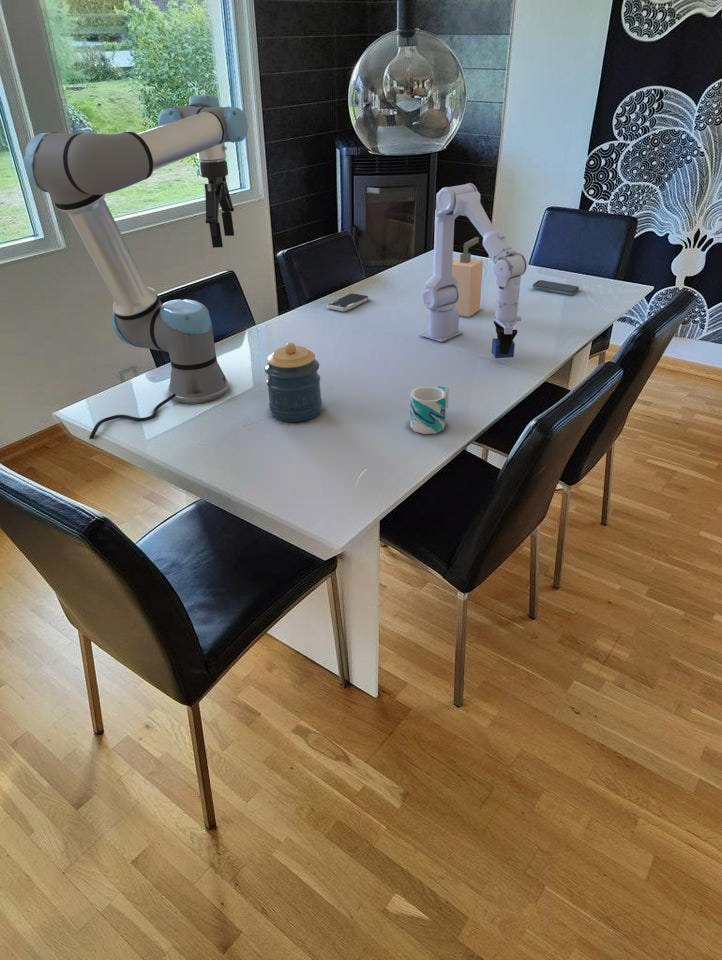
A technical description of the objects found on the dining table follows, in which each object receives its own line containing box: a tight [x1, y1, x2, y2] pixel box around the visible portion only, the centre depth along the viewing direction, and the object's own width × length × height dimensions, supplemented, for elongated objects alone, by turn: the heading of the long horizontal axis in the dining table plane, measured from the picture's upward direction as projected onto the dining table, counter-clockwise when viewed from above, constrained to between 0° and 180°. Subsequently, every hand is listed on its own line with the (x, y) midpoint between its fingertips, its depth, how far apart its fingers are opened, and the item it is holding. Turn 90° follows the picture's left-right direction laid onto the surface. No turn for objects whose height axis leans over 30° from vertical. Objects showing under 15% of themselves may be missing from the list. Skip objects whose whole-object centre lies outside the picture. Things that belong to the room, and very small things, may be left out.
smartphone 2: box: [531, 279, 580, 296], centre depth 239 cm, size 8×2×15 cm
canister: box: [264, 342, 323, 423], centre depth 161 cm, size 13×13×18 cm
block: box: [491, 337, 516, 359], centre depth 185 cm, size 4×5×4 cm
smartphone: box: [326, 292, 369, 312], centre depth 233 cm, size 8×1×15 cm
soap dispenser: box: [452, 236, 484, 318], centre depth 219 cm, size 13×9×22 cm
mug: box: [409, 385, 450, 435], centre depth 156 cm, size 8×12×8 cm
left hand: (223, 241), depth 193 cm, fingers open, 13 cm apart
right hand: (503, 350), depth 185 cm, fingers closed on block, 5 cm apart
